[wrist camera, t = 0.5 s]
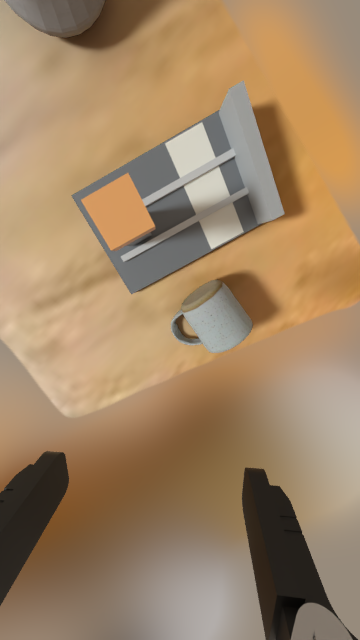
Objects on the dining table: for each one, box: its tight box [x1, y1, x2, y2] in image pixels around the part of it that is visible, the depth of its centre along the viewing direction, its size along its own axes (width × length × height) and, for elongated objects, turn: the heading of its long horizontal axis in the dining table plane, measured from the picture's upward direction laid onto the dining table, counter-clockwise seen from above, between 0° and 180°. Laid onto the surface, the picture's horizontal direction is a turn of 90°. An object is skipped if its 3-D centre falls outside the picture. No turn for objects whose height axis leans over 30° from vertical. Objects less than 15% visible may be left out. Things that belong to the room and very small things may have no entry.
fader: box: [81, 173, 155, 251], centre depth 22 cm, size 4×4×13 cm
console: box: [72, 80, 284, 294], centre depth 27 cm, size 22×14×5 cm, turn 117°
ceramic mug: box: [171, 280, 253, 353], centre depth 31 cm, size 11×8×8 cm
